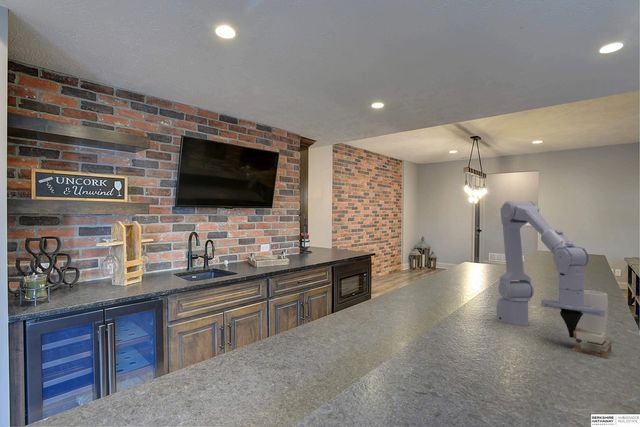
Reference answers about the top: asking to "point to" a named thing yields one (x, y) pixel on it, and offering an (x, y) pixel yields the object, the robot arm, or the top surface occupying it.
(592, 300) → the drinking glass
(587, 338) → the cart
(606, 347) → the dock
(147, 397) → the top surface
